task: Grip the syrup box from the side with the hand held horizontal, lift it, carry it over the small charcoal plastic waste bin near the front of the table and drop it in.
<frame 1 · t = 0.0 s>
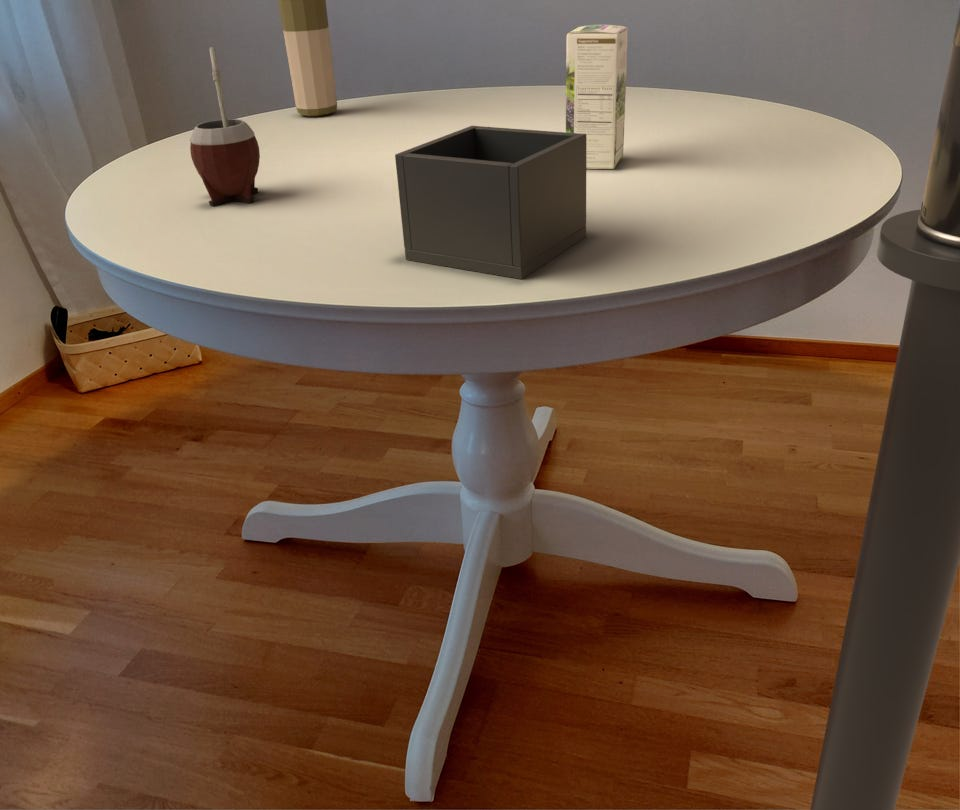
bottle: (318, 115, 139), on the table
mate gourd: (234, 199, 97), on the table
waste bin: (497, 248, 77), on the table
syrup box: (595, 165, 102), on the table
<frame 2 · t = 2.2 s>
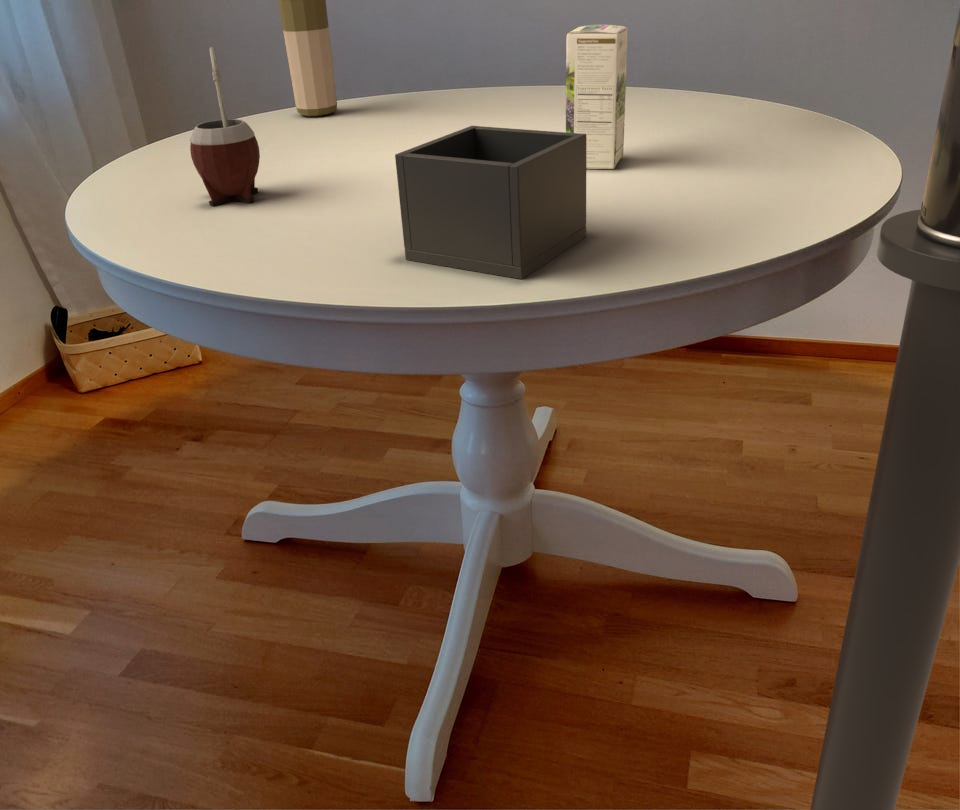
nothing on the table moved.
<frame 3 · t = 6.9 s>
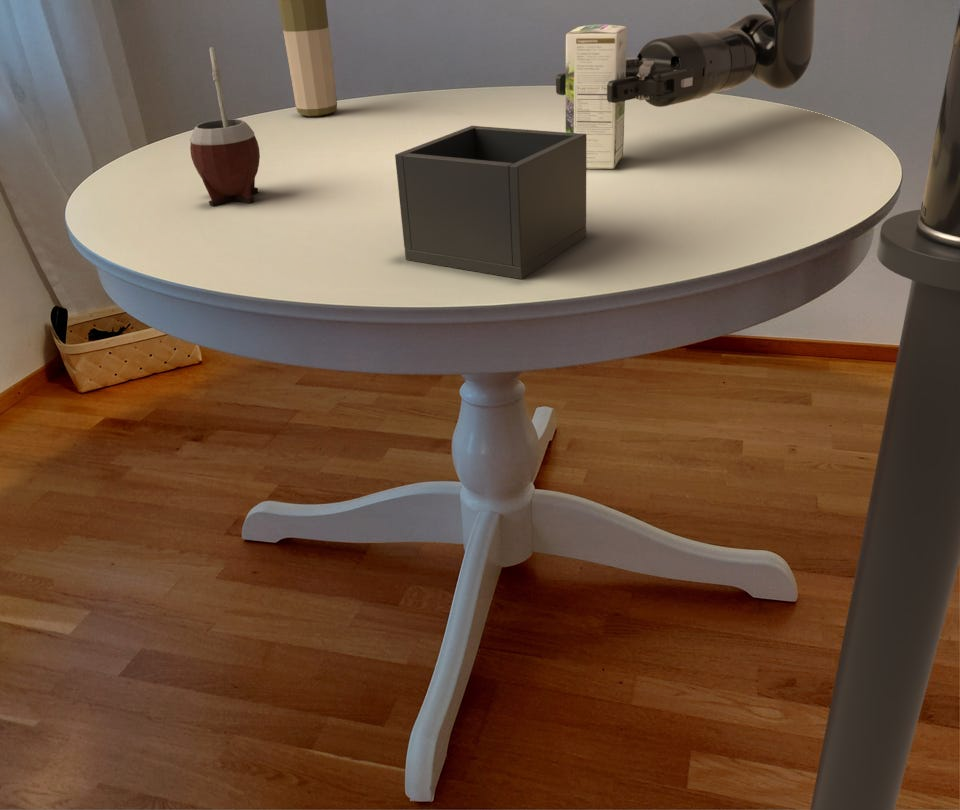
hand: (583, 88, 96), 9 cm above the table, tool horizontal, fingers closed on syrup box, 7 cm apart
syrup box: (595, 165, 102), on the table, touching gripper
everything else where it was.
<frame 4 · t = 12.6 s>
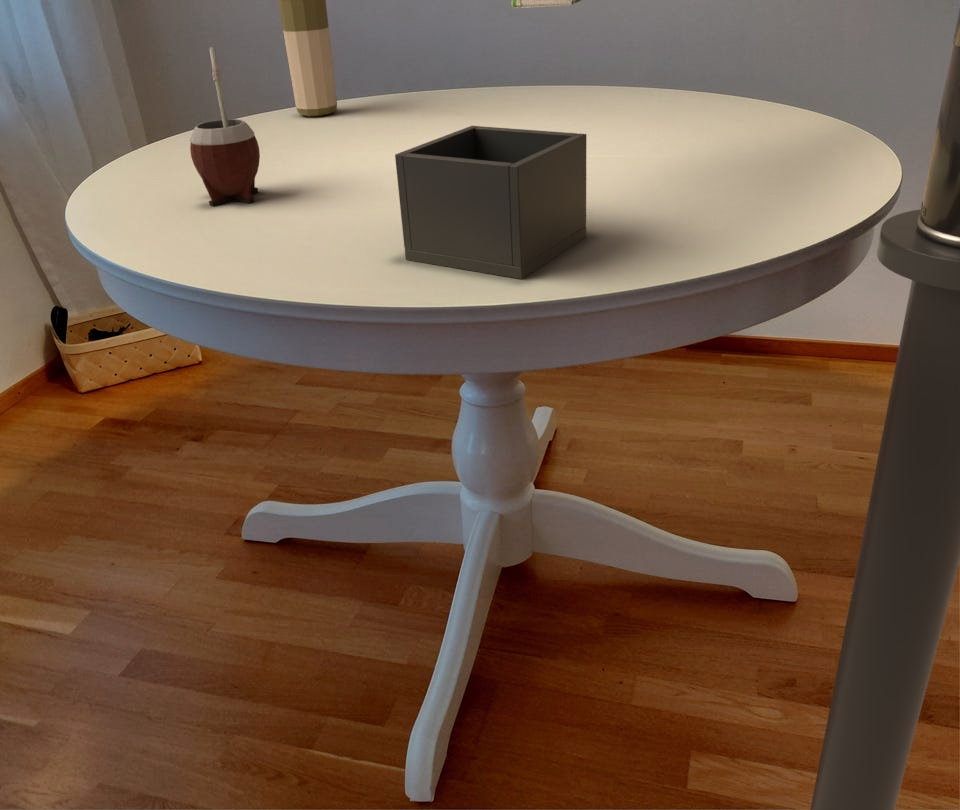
syrup box: (550, 7, 81), point 18 cm above the table, touching gripper
everything else where it was.
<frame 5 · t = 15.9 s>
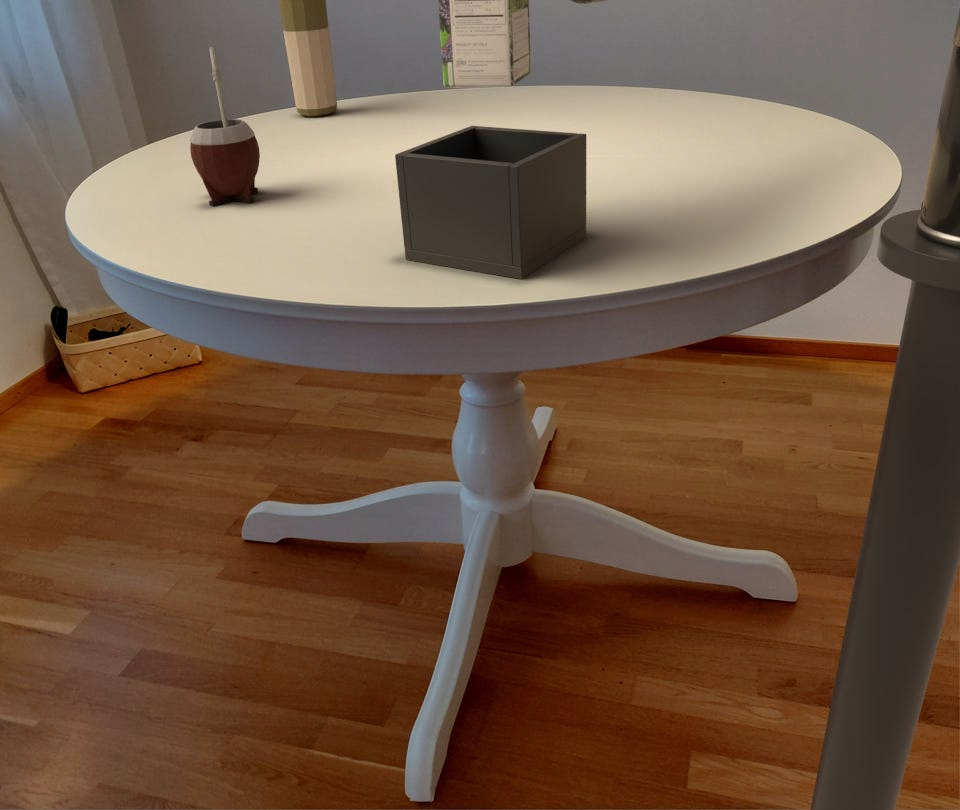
syrup box: (489, 84, 71), point 14 cm above the table, touching gripper
everything else where it was.
when the fingers open (15 cm above the table, at t = 18.7 s): syrup box drops 6 cm, point 1 cm above the table.
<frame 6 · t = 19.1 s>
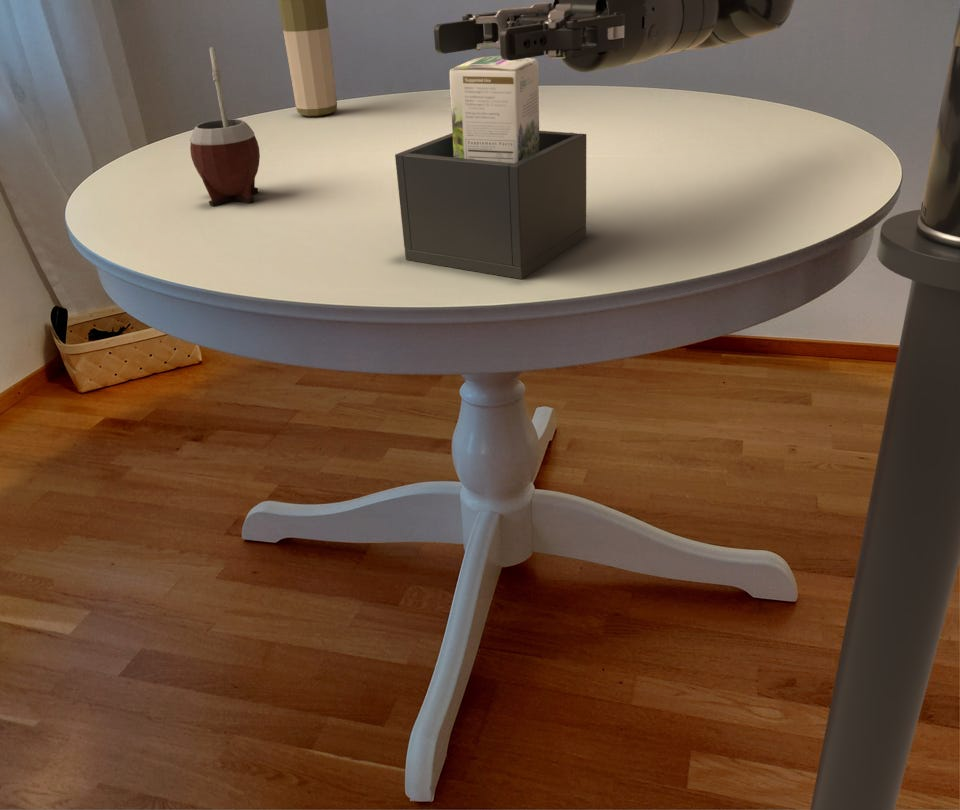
hand: (468, 42, 68), 17 cm above the table, tool horizontal, fingers open, 8 cm apart
syrup box: (501, 240, 77), point 1 cm above the table
everything else where it was.
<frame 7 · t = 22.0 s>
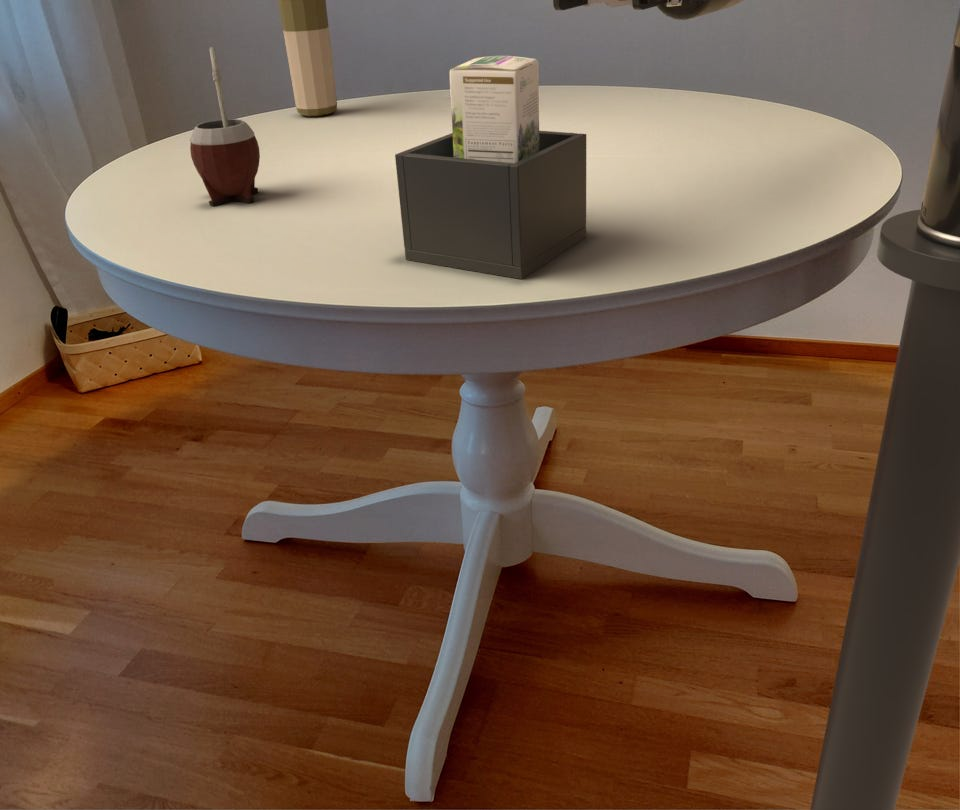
syrup box: (501, 240, 77), point 1 cm above the table, touching waste bin
everything else where it was.
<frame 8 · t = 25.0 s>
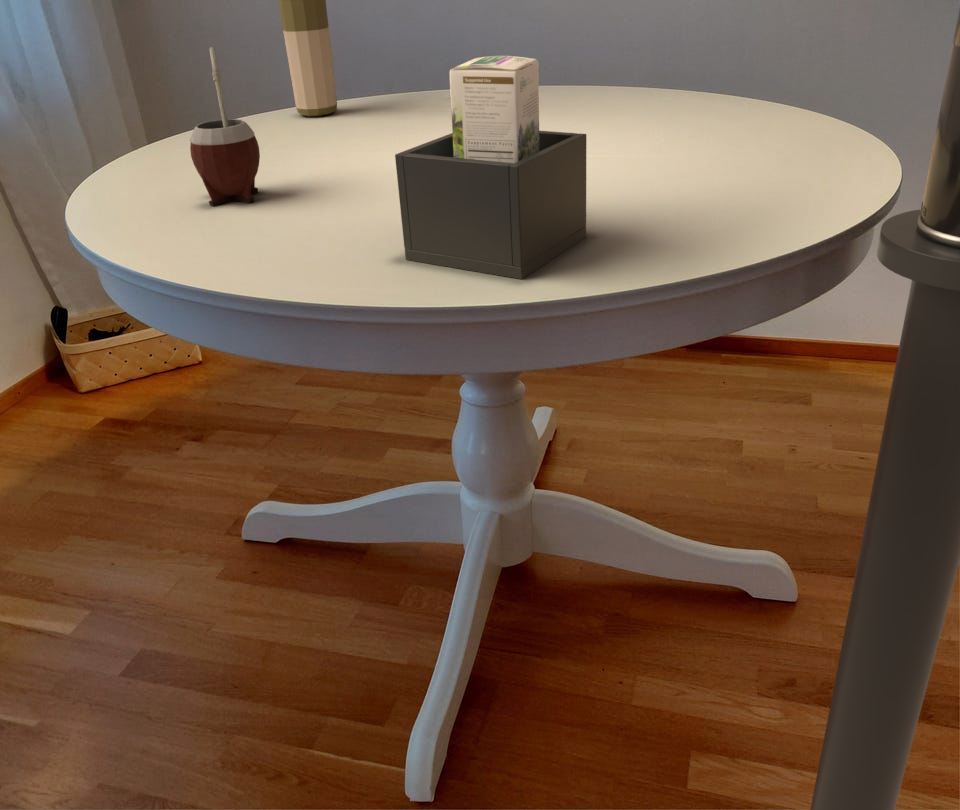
nothing on the table moved.
at the end: syrup box inside the target area in the waste bin (0.5 cm from its centre), point 0.8 cm above the waste bin's base; the gripper is holding nothing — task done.
